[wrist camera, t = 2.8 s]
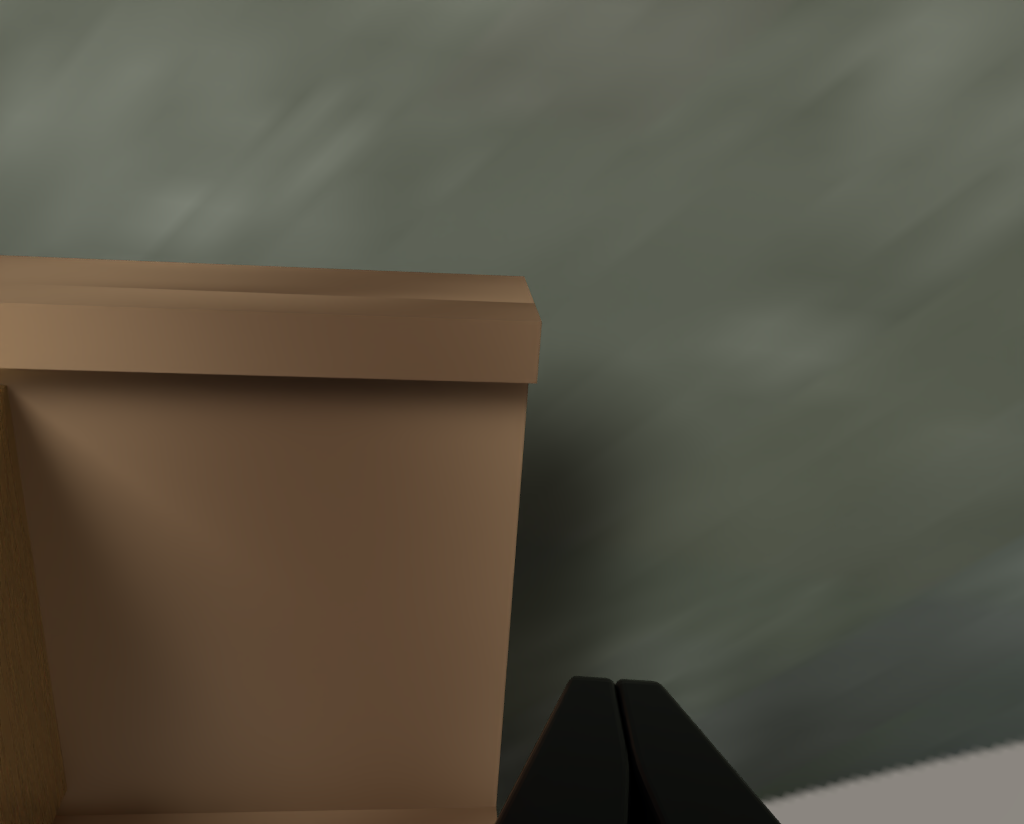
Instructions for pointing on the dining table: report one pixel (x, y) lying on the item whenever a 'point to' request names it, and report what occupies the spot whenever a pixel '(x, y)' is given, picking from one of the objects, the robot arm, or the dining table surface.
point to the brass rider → (23, 661)
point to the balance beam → (271, 533)
